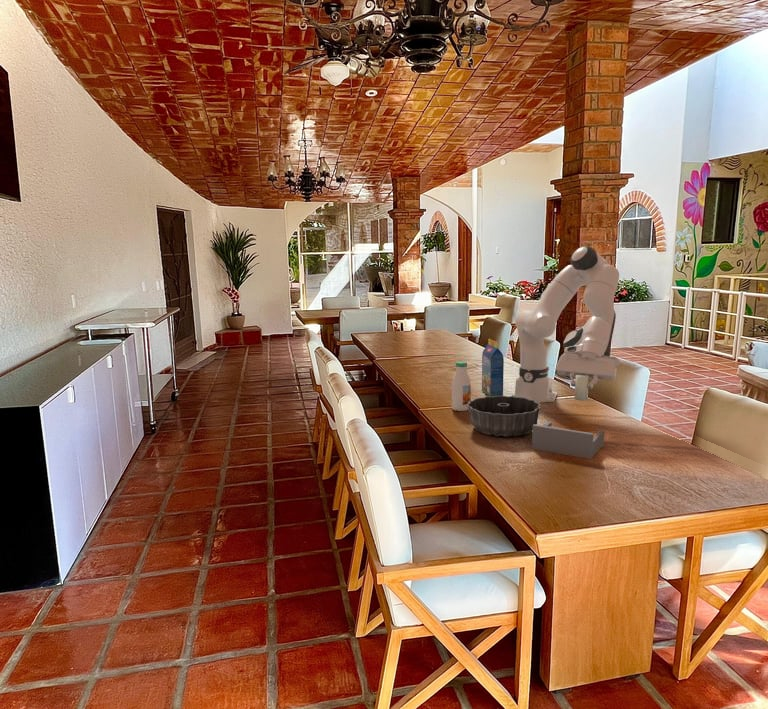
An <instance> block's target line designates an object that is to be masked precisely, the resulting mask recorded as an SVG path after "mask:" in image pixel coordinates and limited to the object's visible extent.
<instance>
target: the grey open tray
mask: <svg viewBox="0 0 768 709" xmlns="http://www.w3.org/2000/svg"><path fill="white" fill-rule="evenodd" d="M552 424H553V423H552V421H547V422H546V423H544V424H543V425H542V424H537V425H536V424H534V425H533V430H532V431H531V432H532V433H531V435H532V436H531V439H532V440H531V449H532V450H539V451H544V452H549V453H555V454H561V455H567V456H570V457H571V456H572V457H577V458H583V459H589V460H592V459H593V458H594V457H595V455H596V454H597V453H598V452H599V451H600V449H601V448H602V447H603V446H604V444H605V429H603V428H600V430H599V431H597V433H596V434H595V435H594V433H592V432H588V431H587V432H586V431H580V430H573V429H567V428H561V427H560V428H559V427H554V426H552Z"/></svg>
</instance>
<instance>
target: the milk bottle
mask: <svg viewBox="0 0 768 709" xmlns="http://www.w3.org/2000/svg"><path fill="white" fill-rule="evenodd" d="M467 367H468V362H467V361H462V360H461V361H455V369H456V370H455V372H454V375H453V377H452V381H451V409H452V410H453V411H456V410H457V411H458V412H467V410H468V411H469V408H468V407H467V404H468V402H469V401H472V398H471V396H472V394H471V393H472V392H471V391H472V390H471V388H472V387H471V386H472V385H471V379H470V376H469V373H468V371H467Z"/></svg>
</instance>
